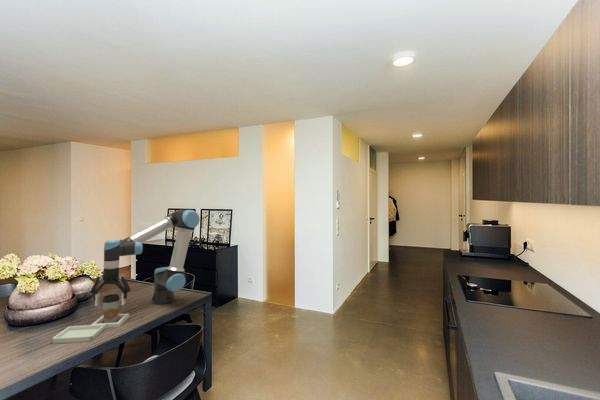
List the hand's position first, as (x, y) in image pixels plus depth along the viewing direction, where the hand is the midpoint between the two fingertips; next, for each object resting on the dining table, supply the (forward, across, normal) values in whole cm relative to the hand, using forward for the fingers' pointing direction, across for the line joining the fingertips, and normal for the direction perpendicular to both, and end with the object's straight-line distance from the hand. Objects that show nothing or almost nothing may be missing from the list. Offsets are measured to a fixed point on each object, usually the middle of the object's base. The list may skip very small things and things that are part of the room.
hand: (110, 304), depth 163 cm
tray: (+10, +8, +15) cm, 20 cm away
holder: (+10, 0, 0) cm, 10 cm away
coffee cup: (+10, 0, 0) cm, 10 cm away
